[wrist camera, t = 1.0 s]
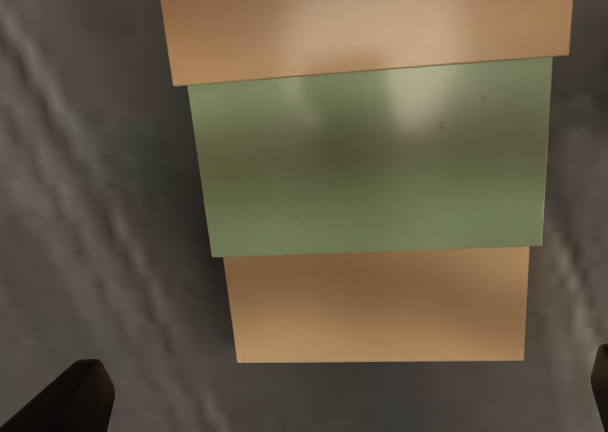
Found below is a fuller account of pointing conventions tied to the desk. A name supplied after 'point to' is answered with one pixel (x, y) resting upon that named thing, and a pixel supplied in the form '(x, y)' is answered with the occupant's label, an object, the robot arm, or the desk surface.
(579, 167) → the desk surface
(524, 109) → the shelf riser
